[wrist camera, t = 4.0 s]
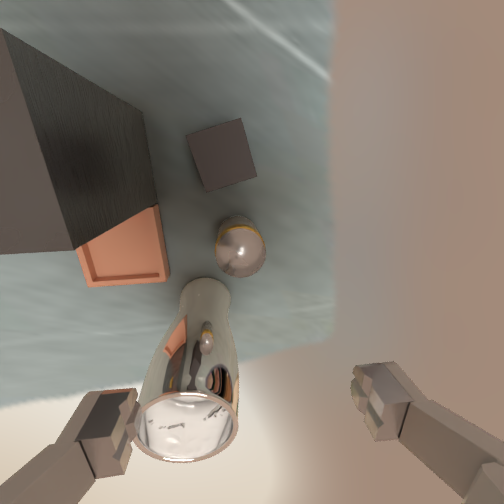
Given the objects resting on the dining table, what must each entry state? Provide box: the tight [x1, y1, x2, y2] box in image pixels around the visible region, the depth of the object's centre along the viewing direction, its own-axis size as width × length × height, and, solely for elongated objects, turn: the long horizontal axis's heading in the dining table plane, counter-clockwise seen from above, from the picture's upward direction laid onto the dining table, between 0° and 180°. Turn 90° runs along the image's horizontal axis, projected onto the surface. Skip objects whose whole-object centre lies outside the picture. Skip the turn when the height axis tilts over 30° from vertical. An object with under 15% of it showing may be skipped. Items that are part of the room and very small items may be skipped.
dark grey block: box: [0, 28, 158, 255], centre depth 15 cm, size 9×10×14 cm
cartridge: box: [215, 216, 266, 278], centre depth 23 cm, size 5×5×6 cm
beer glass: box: [133, 277, 239, 463], centre depth 21 cm, size 7×7×15 cm
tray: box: [76, 204, 170, 287], centre depth 24 cm, size 8×8×2 cm
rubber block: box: [186, 118, 257, 193], centre depth 21 cm, size 4×4×5 cm
